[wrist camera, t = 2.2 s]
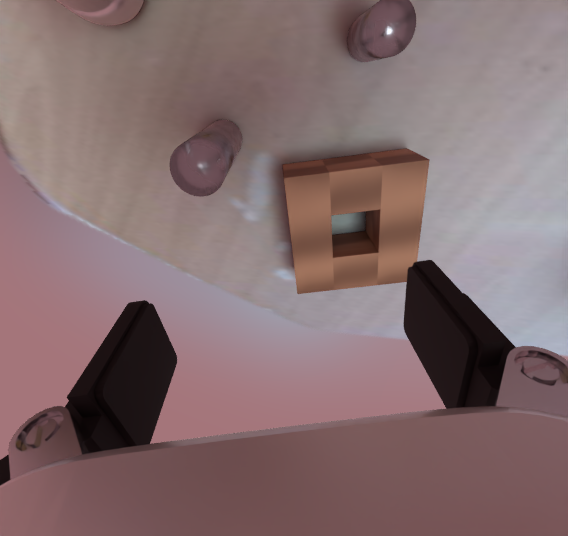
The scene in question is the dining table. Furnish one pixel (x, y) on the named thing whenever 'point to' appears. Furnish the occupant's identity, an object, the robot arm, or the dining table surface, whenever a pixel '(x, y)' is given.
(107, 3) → the plastic bottle
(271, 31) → the dining table surface
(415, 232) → the walnut block
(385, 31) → the mauve rounded capsule
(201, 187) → the grey tall cylinder
